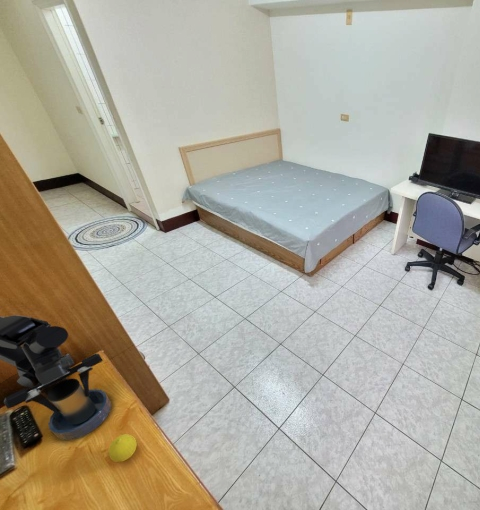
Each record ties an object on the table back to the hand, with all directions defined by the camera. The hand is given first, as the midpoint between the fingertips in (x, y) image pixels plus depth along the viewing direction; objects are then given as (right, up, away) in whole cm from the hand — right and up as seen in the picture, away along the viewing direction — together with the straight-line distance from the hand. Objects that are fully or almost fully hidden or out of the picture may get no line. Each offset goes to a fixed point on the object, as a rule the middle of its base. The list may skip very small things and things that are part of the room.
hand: (74, 404), depth 72 cm
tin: (-2, -5, +4) cm, 7 cm away
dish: (-2, -6, +5) cm, 8 cm away
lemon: (+17, -13, -2) cm, 21 cm away
